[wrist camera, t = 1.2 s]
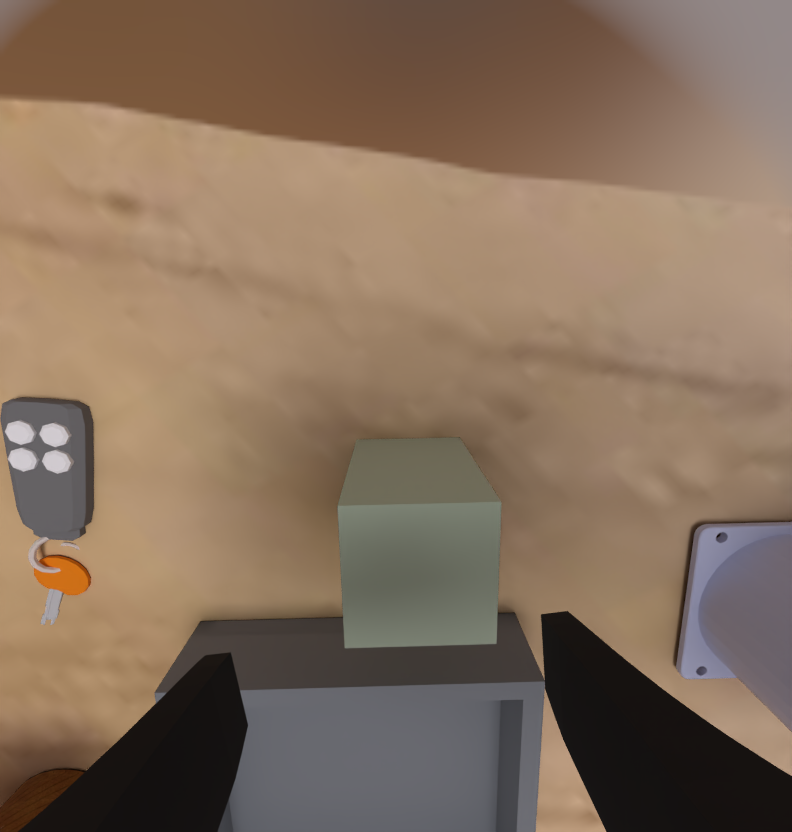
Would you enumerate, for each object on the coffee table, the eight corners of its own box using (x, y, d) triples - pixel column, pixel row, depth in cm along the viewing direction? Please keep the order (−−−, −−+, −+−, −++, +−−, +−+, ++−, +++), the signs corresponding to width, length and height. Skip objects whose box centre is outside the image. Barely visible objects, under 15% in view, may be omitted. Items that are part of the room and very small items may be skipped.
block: (459, 437, 18) (501, 501, 12) (458, 531, 19) (496, 643, 12) (356, 439, 18) (337, 505, 11) (360, 534, 19) (344, 648, 12)
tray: (514, 612, 20) (545, 681, 16) (503, 852, 23) (527, 958, 19) (200, 621, 20) (154, 692, 16) (231, 861, 23) (199, 970, 19)
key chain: (12, 393, 18) (-20, 399, 17) (100, 399, 18) (76, 405, 17) (41, 652, 21) (14, 677, 19) (117, 656, 21) (97, 680, 19)
